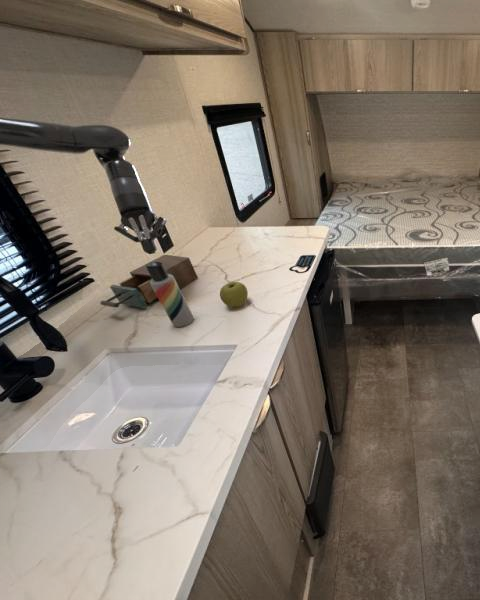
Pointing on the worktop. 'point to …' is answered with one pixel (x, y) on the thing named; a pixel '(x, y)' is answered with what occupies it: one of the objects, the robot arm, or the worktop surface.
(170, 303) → the lotion bottle
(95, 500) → the worktop surface
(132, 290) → the drawer
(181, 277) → the cabinet
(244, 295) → the apple
